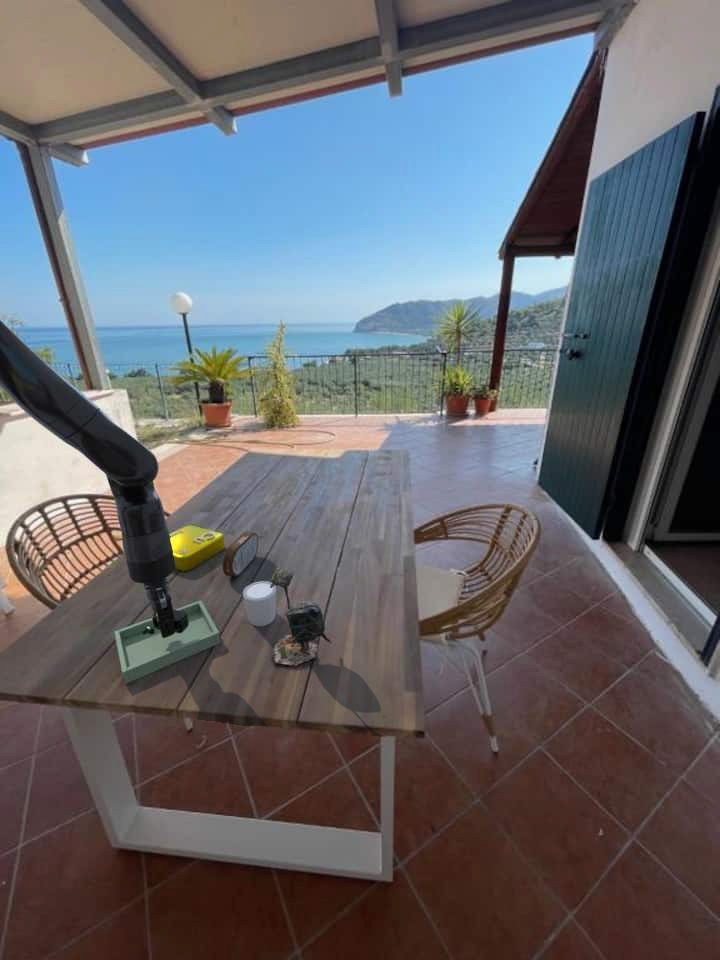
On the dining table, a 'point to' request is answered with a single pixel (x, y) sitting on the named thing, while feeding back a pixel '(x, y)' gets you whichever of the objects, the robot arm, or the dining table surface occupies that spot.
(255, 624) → the white cylinder
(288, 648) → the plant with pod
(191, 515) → the dining table surface
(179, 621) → the wireless earbuds
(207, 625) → the pale tray
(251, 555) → the brown digital clock
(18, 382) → the robot arm
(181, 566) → the element tile
